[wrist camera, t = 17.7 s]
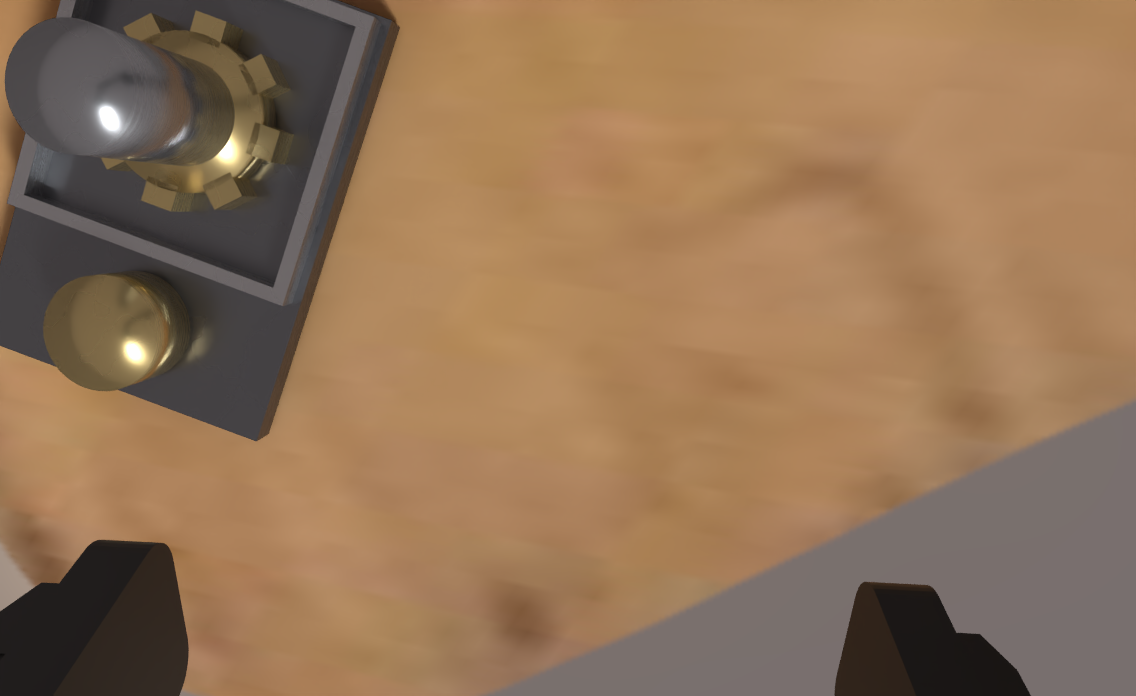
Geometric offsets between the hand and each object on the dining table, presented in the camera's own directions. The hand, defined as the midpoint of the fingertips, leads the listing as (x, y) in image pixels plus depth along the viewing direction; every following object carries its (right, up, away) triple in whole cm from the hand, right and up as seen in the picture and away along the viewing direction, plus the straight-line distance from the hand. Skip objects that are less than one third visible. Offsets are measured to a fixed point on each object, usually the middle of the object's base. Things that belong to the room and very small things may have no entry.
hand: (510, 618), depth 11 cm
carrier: (-13, +9, +24) cm, 29 cm away
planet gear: (-12, +11, +22) cm, 28 cm away
